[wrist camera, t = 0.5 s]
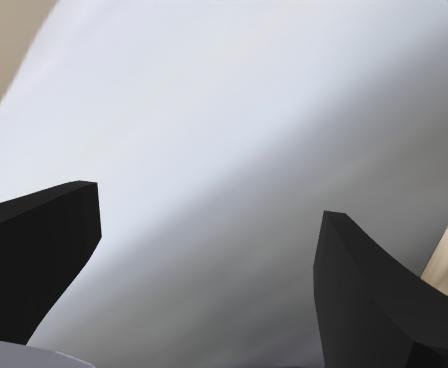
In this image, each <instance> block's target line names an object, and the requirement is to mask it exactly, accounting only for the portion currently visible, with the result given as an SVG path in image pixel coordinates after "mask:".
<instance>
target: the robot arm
mask: <svg viewBox="0 0 448 368" xmlns="http://www.w3.org/2000/svg"><path fill="white" fill-rule="evenodd" d="M101 238H102V234H101V222H100V210H99V198H98V186H97V183H96V182H88V181H80V180H79V181H73V182H69V183H65V184H61V185H57V186H54V187H51V188H48V189H44V190H41V191H38V192H35V193H32V194H29V195H25V196H22V197H19V198H16V199H12V200H9V201H5V202H2V203H0V368H96V367H94V366H93V365H92V364H91V363H88V362H85V361H83V360H80V359H77V358H75V357H72V356H69V355H67V354H64V353H61V352H58V351H53V350H47V349H42V348H36V347H31V346H26V344H27V342H28V341H29V339H30V338H31V336H32V335H33V333H34V331H35V330H36V328H37V327H38V325H39V324H40V322H41V321H42V320H43V318H44V317H45V316H46V314H47V313H48V312H49V310H50V309H51V308H52V307H53V305H54V304H55V303H56V302H57V300H58V299H59V298H60V297H61V295H62V294H63V293H64V291H65V290H66V289H67V288H68V286H69V285H70V284H71V283H72V281H73V280H74V279H75V278H76V276H77V275H78V274H79V273H80V271H81V270H82V269H83V267H84V266H85V265H86V263H87V262H88V261H89V259H90V257H91V256H92V254H93V252H94V251H95V249H96V247H97V245H98V243H99V241H100V239H101ZM313 279H314V299H315V305H316V312H317V318H318V324H319V330H320V337H321V343H322V349H323V355H324V362H325V368H448V296H447V295H445V294H444V293H442V292H441V291H439V290H437V289H436V288H434V287H433V286H431V285H430V284H428V283H427V282H425V281H424V280H422V279H421V278H419V277H418V276H416V275H415V274H413V273H412V272H411V271H409V270H408V269H407V268H405V267H404V266H403V265H402V264H400V263H399V262H398V261H397V260H395V259H394V258H393V257H392V256H391V255H389V254H388V253H387V252H386V251H385V250H384V249H382V248H381V247H380V246H379V245H378V244H377V243H376V242H375V241H374V240H373V239H371V238H370V237H369V236H368V235H367V234H366V233H365V232H364V231H363V230H362V229H361V228H360V227H359V226H358V225H357V224H356V223H355V222H354V221H353V220H352V219H351V218H350V217H349V216H348V215H346V214H345V213H339V212H331V211H324V213H323V219H322V224H321V229H320V234H319V240H318V245H317V250H316V255H315V261H314V266H313Z"/></svg>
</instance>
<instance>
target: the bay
mask: <svg viewBox="0 0 448 368" xmlns="http://www.w3.org/2000/svg"><path fill="white" fill-rule="evenodd" d="M421 279H422V280H424V281H425V282H427V283H428V284H430V285H431V286H433V287H434V288H436V289H437V290H439V291H441V292H442V293H444V294H445V295H447V296H448V227H447V229H446V231H445V233H444V235H443V237H442V239H441V240H440V242H439V244H438V246H437V248H436V250H435V252H434V253H433V255H432V257H431V259H430V261H429V263H428V265H427V266H426V268H425V270H424V272H423V274H422V276H421Z"/></svg>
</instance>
